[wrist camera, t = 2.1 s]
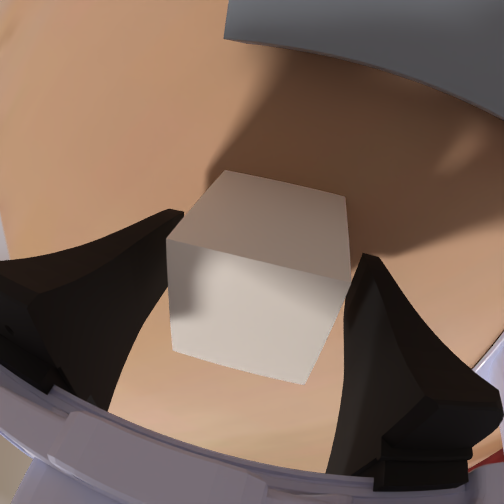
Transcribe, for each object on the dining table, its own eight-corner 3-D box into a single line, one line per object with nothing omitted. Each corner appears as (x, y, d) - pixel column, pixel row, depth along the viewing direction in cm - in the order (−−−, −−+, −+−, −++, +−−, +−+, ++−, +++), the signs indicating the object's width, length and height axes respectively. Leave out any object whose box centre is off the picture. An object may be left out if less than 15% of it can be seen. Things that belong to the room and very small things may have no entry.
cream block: (345, 195, 11) (351, 282, 7) (315, 288, 14) (304, 385, 10) (224, 169, 12) (165, 238, 8) (216, 264, 14) (172, 350, 10)
